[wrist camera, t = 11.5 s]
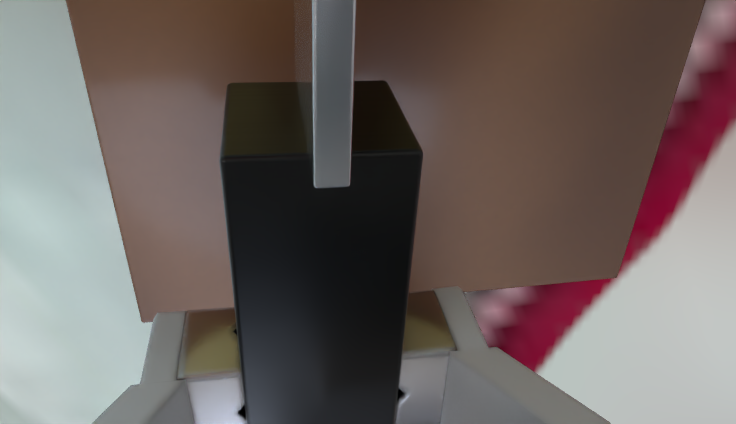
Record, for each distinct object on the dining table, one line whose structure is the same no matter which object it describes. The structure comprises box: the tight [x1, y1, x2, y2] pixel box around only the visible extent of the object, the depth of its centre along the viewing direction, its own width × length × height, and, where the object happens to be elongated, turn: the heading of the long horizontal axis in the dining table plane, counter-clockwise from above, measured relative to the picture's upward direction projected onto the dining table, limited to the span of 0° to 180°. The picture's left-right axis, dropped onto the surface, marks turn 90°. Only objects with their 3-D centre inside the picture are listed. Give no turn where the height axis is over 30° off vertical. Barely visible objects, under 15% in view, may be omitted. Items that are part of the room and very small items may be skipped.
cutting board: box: [66, 0, 705, 323], centre depth 15 cm, size 16×18×1 cm
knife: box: [219, 0, 423, 424], centre depth 8 cm, size 2×17×3 cm, turn 177°
